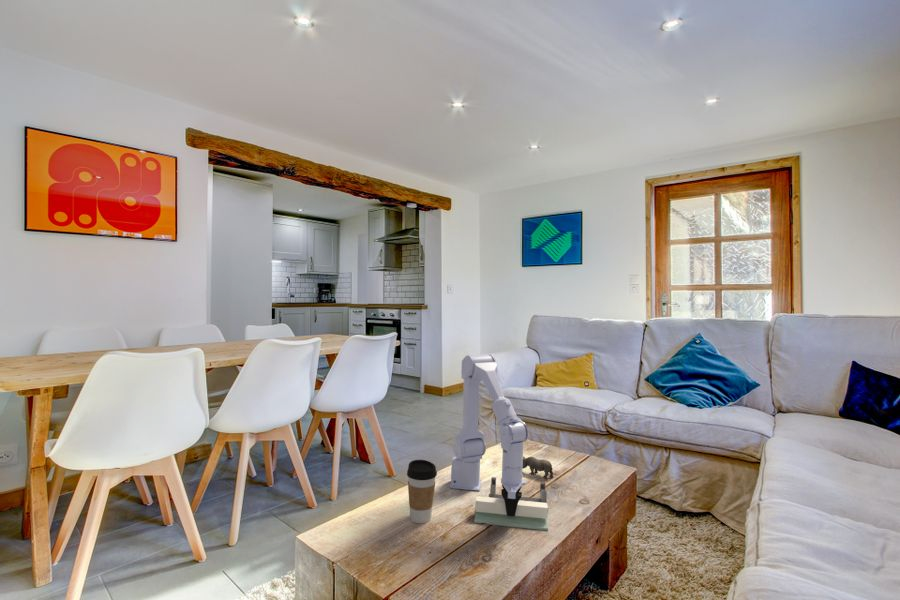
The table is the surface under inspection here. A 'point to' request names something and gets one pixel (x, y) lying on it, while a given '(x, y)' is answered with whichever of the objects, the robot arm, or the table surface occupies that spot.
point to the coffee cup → (421, 489)
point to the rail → (522, 509)
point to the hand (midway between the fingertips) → (510, 512)
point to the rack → (542, 497)
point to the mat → (511, 521)
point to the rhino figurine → (538, 466)
